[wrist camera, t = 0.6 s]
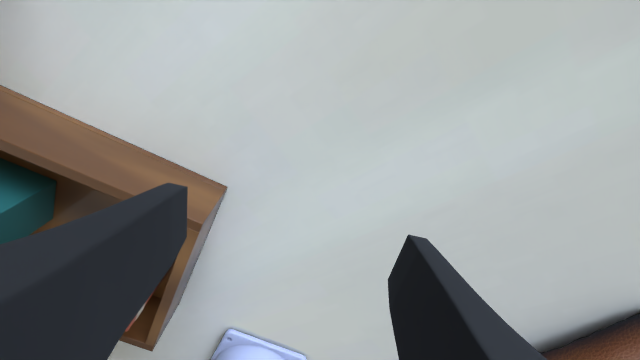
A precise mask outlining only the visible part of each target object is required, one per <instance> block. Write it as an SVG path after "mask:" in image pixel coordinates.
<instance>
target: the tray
mask: <svg viewBox="0 0 640 360" xmlns="http://www.w3.org/2000/svg"><path fill="white" fill-rule="evenodd" d="M0 158H2V159H4V160H7V161H9V162H12V163H14V164H17V165H19V166H21V167H24V168H26V169H29V170H31V171H34V172H36V173H38V174H41V175H43V176H46V177H48V178H51V179H53V180H56V192H55V203H54V213H53V219H52V220H50V221H49V222H47V223H46V224H44V225H43V226H42V227H40V228H39V229H37V230H36V231H34V232H33V233H31V234H30V235H33V234H36V233H39V232H42V231H45V230H48V229H51V228H54V227H57V226H60V225H62V224H65V223H68V222H70V221H73V220H76V219H78V218H81V217H84V216H86V215H89V214H92V213H94V212H97V211H100V210H102V209H105V208H107V207H110V206H112V205H114V204H117V203H119V202H122V201H124V200H126V199H129V198H131V197H133V196H136V195H138V194H140V193H143V192H145V191H148V190H150V189H152V188H155V187H157V186H160V185H162V184H165V183H173V184H178V185H182V186H187V187H188V195H187V238H186V240H185V242H184V244H183V246H182V248H181V249H180V251H179V253H178V255H177V257H176V259H175V260H174V263H173V266H172V267H171V268H170V270H169V271H168V273H167V274H166V276H165V277H164V279H163V280H162V282H161V283H160V285H159V286H158V288H157V289H156V291H155V292H154V293H153V295H152V296H151V298H150V299H149V301H148V302H147V304H146V305H145V307H144V309H143V310H142V312H141V313H140V315H139V316H138V318H137V319H136V320H135V321H134V323H133V324H132V326H131V327H130V329H129V330H128V331H127V332H126V331H125V332H124V333H123V335H122V336H121V338H120V339H119V340H120V341H123V342H126V343H129V344H132V345H135V346H138V347H140V348H143V349H146V350H149V351H153V349H154V347H155V345H156V344H157V342H158V340H159V338H160V337H161V335H162V333H163V331H164V330H165V328H166V326H167V324H168V322H169V321H170V319H171V317H172V315H173V314H174V312H175V310H176V308H177V307H178V305H179V302H180V300H181V298H182V295H183V293H184V290H185V288H186V286H187V283H188V281H189V278H190V276H191V274H192V271H193V269H194V266H195V264H196V262H197V259H198V257H199V255H200V252H201V250H202V247H203V245H204V243H205V240H206V238H207V235H208V233H209V231H210V228H211V226H212V223H213V221H214V219H215V216H216V214H217V211H218V209H219V207H220V204H221V202H222V199H223V197H224V195H225V192H226V190H227V187H226V186H224V185H222V184H219V183H217V182H215V181H213V180H211V179H208V178H206V177H204V176H202V175H199V174H197V173H195V172H193V171H190V170H188V169H186V168H184V167H182V166H179V165H177V164H175V163H173V162H170V161H168V160H166V159H164V158H161V157H159V156H157V155H155V154H153V153H150V152H148V151H146V150H144V149H141V148H139V147H137V146H135V145H132V144H130V143H128V142H126V141H123V140H121V139H119V138H117V137H115V136H112V135H110V134H108V133H106V132H103V131H101V130H99V129H97V128H94V127H92V126H90V125H88V124H86V123H83V122H81V121H79V120H77V119H74V118H72V117H70V116H68V115H65V114H63V113H61V112H59V111H57V110H54V109H52V108H50V107H48V106H45V105H43V104H41V103H39V102H36V101H34V100H32V99H30V98H28V97H25V96H23V95H21V94H19V93H16V92H14V91H12V90H10V89H7V88H5V87H3V86H1V85H0Z"/></svg>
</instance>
